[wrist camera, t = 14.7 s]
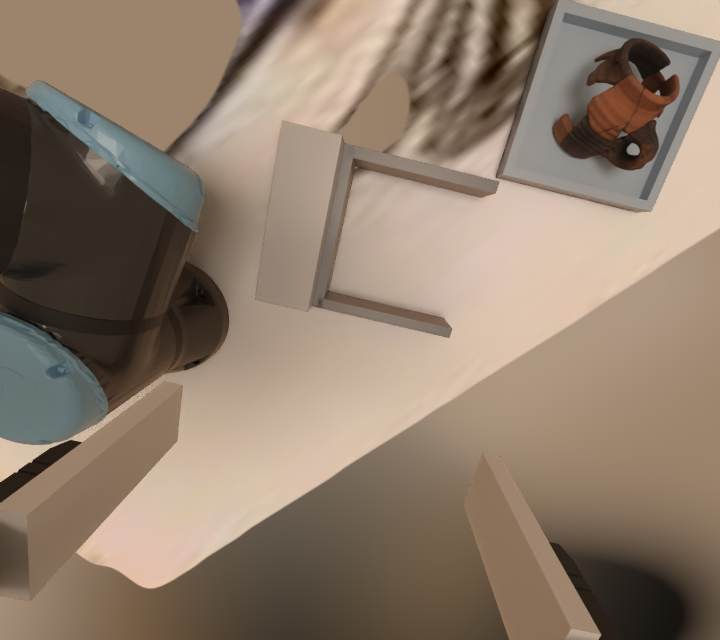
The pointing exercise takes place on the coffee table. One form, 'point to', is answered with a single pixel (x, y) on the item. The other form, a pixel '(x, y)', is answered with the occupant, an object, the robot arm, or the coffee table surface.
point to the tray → (572, 95)
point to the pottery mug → (622, 107)
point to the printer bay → (333, 222)
